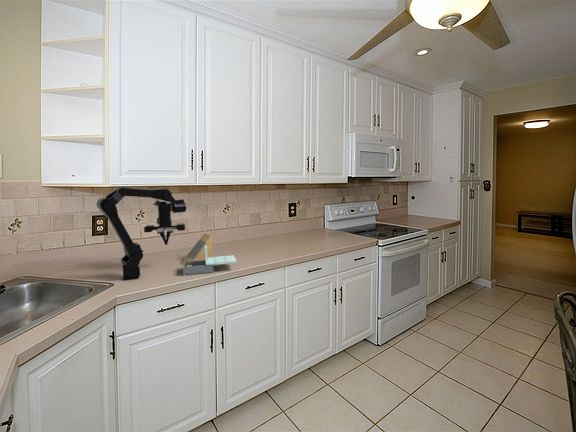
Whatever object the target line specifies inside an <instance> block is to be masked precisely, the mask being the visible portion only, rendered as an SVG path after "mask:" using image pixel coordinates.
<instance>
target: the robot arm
mask: <svg viewBox="0 0 576 432" xmlns="http://www.w3.org/2000/svg"><path fill="white" fill-rule="evenodd" d="M124 197H137V198H150V199H155V201H154V202H153V203H152V204H153V206H156V207H157V212H158V213H157V218H156V224H157V226H155V224H147V225H145V226H144V227H143V233H152V232H153V231H157V232H156V233H157V234H158V235H160V237H161V238H162V240H163V243H164V245H165V246H168V244H169V240H170V239H169V238H170V236H171V234H173V233H174V231H175V230H176V231H186V224H185V223H176V225H175V224H174V225H173V221H172V213H173V214H178V213H179V214H180V213H186V211H187V205H186V202H185V200H184V198H179V199H175V198H174V196H173V195H172V192H171V190H169V189H168V188H153V189H143V188H140V189H139V188H128V187H122V186H121V187H117V188H116V189H115V190H114V191H112V192H110V193H109V194H108V195H106V196H105V197H101V198H99V199H97V202H96V208H98V210H99V211H100V212H101V214H103V215H104V216H105V217H106V218H107V219H108V221H109V224H110V225H111V227H112V228H113V230H114V231H115V234H116V235H117V237H118V239H119V241H120V242H121V244H122V245H123V251H124V256H123V257H122V258H121V259H120V262H121V264H122V277H123V278H122V281H129V280H136V279H139V278H140V277H141V266H139V265H140V262H141V261H142V259H143V257H144V250H142V247H141V244H139V243H137V242H133V240H132V238H131V236H130V235H129V232H128V231H127V229H126V228H125V225H124V224H123V222H122V220H121V219H120V217H119V215H118V214H119V213H118V208H117V204H119V202H121V200H123V198H124ZM171 212H172V213H171ZM165 230H166V231H165Z"/></svg>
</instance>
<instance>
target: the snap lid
mask: <svg viewBox="0 0 576 432" xmlns="http://www.w3.org/2000/svg"><path fill="white" fill-rule="evenodd" d="M237 262H238V261H237V259H236V257H235V255H223V256H221V255H220V256H212V257H208V258H207V246H205V263H206V265H213V266H214V265H222V264H233V263H237Z"/></svg>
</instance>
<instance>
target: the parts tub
mask: <svg viewBox="0 0 576 432" xmlns="http://www.w3.org/2000/svg"><path fill="white" fill-rule="evenodd" d="M182 272H183V274H182V275H183V276H184V275H185V276H194V275H203V274H213V273H214V265H206V263H205V260H200V261H188V262H183V265H182Z"/></svg>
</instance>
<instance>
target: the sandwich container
mask: <svg viewBox="0 0 576 432" xmlns="http://www.w3.org/2000/svg"><path fill="white" fill-rule="evenodd" d="M205 246H207V258H208V257H213V236H212V235H211V234H208V233H203V234H202V236H201V237H200V238H199V239H198V240H197V242H196V244H195V245H194V246H193V247H192V248H191V250H190V251H189V252H188V253H187V255H186V256H185V257H184V258H183V260H182V261H181V262H180V265H181V266H183V262H188V261H200V260H205Z"/></svg>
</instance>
